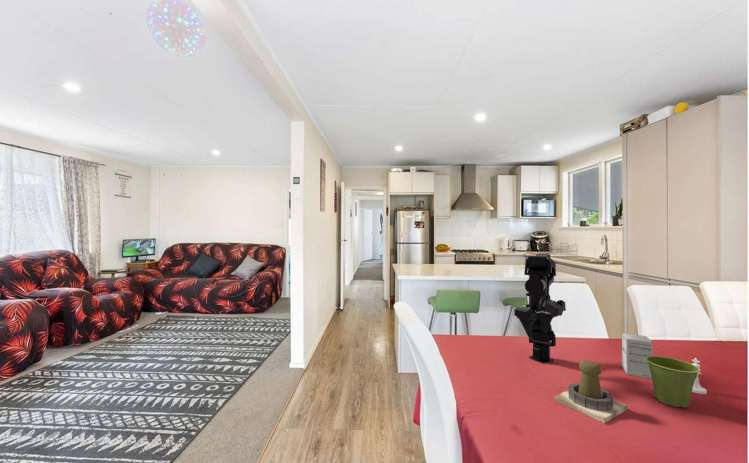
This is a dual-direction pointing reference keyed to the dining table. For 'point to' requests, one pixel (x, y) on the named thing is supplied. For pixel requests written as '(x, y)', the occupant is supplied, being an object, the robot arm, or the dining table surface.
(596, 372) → the cork
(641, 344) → the supplement box
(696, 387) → the chess piece
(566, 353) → the dining table surface
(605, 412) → the collar board
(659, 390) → the plant pot
